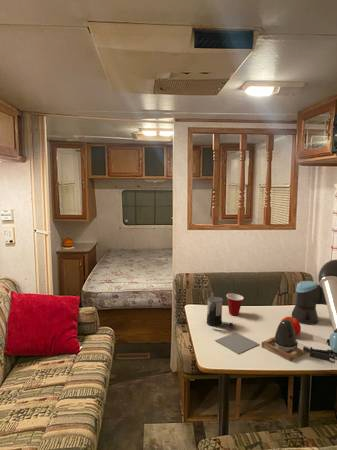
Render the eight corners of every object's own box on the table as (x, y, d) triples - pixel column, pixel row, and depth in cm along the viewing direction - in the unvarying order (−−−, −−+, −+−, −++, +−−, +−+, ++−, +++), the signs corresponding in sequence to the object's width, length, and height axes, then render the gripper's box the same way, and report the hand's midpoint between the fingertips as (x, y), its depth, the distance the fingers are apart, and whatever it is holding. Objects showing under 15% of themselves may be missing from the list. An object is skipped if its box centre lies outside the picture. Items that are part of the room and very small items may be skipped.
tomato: (282, 327, 182) (283, 313, 181) (302, 333, 175) (303, 318, 174) (276, 334, 173) (277, 319, 172) (297, 340, 167) (298, 324, 166)
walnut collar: (280, 338, 169) (280, 333, 169) (308, 351, 156) (308, 346, 156) (261, 346, 160) (261, 342, 159) (289, 361, 147) (290, 356, 146)
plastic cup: (243, 318, 194) (244, 299, 192) (225, 316, 196) (226, 298, 194) (242, 311, 204) (243, 293, 203) (225, 310, 206) (226, 292, 205)
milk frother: (205, 319, 191) (206, 296, 190) (231, 320, 191) (232, 296, 189) (207, 330, 177) (208, 305, 175) (235, 331, 177) (237, 305, 175)
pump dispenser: (273, 351, 155) (274, 322, 153) (274, 342, 165) (276, 314, 163) (295, 356, 151) (297, 326, 149) (295, 346, 161) (297, 317, 159)
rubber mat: (235, 332, 175) (235, 332, 174) (259, 344, 162) (259, 344, 162) (214, 340, 165) (214, 340, 165) (238, 354, 152) (238, 353, 152)
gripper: (338, 379, 124) (290, 356, 141) (366, 359, 139) (319, 340, 156) (340, 361, 123) (291, 340, 140) (367, 343, 138) (320, 326, 155)
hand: (305, 340), depth 148 cm, fingers open, 13 cm apart
